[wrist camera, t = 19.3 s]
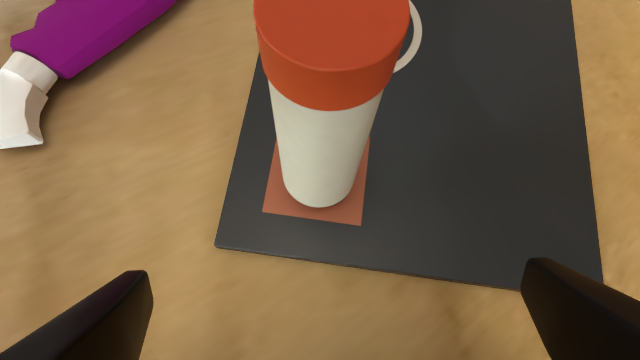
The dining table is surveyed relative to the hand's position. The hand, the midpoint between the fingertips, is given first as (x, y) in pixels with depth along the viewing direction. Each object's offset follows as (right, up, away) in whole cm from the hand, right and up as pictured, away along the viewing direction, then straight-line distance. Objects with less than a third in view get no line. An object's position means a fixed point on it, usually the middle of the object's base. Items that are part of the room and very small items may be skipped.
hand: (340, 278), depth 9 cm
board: (+5, +6, +14) cm, 16 cm away
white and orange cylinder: (-1, +2, +11) cm, 11 cm away
